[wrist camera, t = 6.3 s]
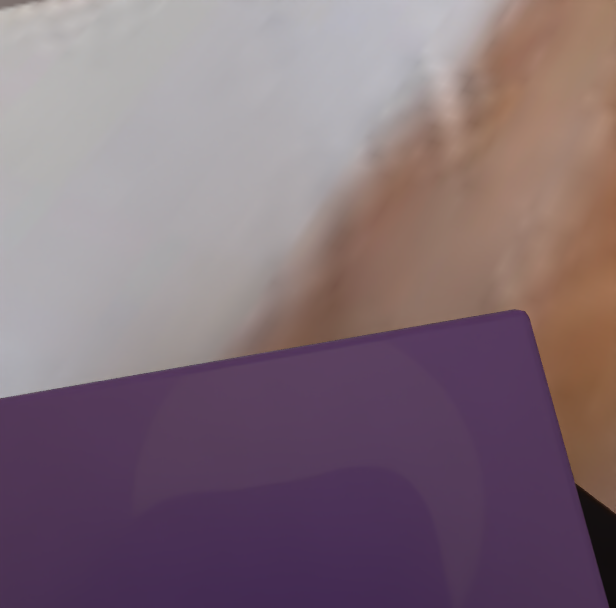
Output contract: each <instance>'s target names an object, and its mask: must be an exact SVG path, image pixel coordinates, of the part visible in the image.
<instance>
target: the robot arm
mask: <svg viewBox="0 0 616 608" xmlns="http://www.w3.org/2000/svg"><path fill="white" fill-rule="evenodd" d="M575 485H576V489H577V492H578V496H579V500H580V503H581V507H582V511H583V514H584V518H585V521H586V525H587V529H588V532H589V536H590V539H591V543H592V547H593V550H594V554H595V558H596V561H597V565H598V568H599V572H600V576H601V579H602V583H603V587H604V590H605V594H606V597H607V601H608V605H609V608H616V514H615V513H614V512H612V511H611V510H610V509H608V508H607V507H606V506H605V505H603V504H602V503H601V502H599V501H598V500H597V499H595V498H594V497H593V496H591V495H590V494H589V493H588V492H586V491H585V490H584V489H582V488H581V487H580V486H578V485H577V484H576V483H575Z"/></svg>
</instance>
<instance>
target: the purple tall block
mask: <svg viewBox="0 0 616 608" xmlns="http://www.w3.org/2000/svg"><path fill="white" fill-rule="evenodd" d="M0 608H609V605H608V601H607V597H606V594H605V590H604V587H603V583H602V579H601V576H600V572H599V568H598V565H597V561H596V558H595V554H594V550H593V547H592V543H591V539H590V536H589V532H588V529H587V525H586V521H585V518H584V514H583V511H582V507H581V503H580V500H579V496H578V492H577V489H576V485H575V482H574V478H573V474H572V471H571V467H570V463H569V460H568V456H567V453H566V449H565V445H564V442H563V438H562V434H561V431H560V427H559V424H558V420H557V416H556V413H555V409H554V405H553V402H552V398H551V395H550V391H549V387H548V384H547V380H546V377H545V373H544V369H543V366H542V362H541V358H540V355H539V351H538V348H537V344H536V340H535V337H534V333H533V329H532V326H531V322H530V319H529V317H528V315H527V314H526V312H525V311H521V310H516V309H514V310H508V311H502V312H496V313H491V314H485V315H479V316H473V317H468V318H462V319H456V320H450V321H444V322H439V323H433V324H427V325H421V326H416V327H410V328H404V329H398V330H392V331H387V332H381V333H375V334H369V335H364V336H358V337H352V338H346V339H340V340H335V341H329V342H323V343H317V344H312V345H306V346H300V347H294V348H289V349H283V350H277V351H271V352H265V353H260V354H254V355H248V356H242V357H237V358H231V359H225V360H219V361H213V362H208V363H202V364H196V365H190V366H185V367H179V368H173V369H167V370H161V371H156V372H150V373H144V374H138V375H133V376H127V377H121V378H115V379H109V380H104V381H98V382H92V383H86V384H81V385H75V386H69V387H63V388H57V389H52V390H46V391H40V392H34V393H29V394H23V395H17V396H11V397H5V398H0Z"/></svg>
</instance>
